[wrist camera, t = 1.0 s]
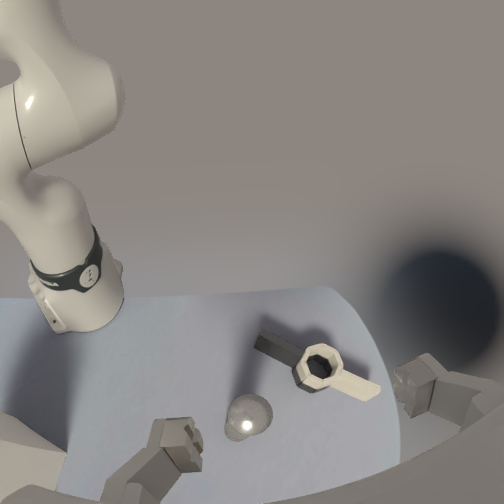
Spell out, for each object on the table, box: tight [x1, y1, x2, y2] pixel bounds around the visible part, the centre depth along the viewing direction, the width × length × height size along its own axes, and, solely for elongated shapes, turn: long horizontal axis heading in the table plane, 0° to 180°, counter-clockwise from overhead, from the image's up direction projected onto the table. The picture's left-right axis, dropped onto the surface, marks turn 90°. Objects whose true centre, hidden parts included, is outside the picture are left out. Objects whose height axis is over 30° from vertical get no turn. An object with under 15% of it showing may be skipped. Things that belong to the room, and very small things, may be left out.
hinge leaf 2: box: [296, 343, 381, 402], centre depth 41 cm, size 14×6×5 cm, turn 61°
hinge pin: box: [224, 394, 273, 442], centre depth 31 cm, size 4×4×15 cm
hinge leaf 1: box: [254, 329, 332, 393], centre depth 43 cm, size 14×6×5 cm, turn 61°
